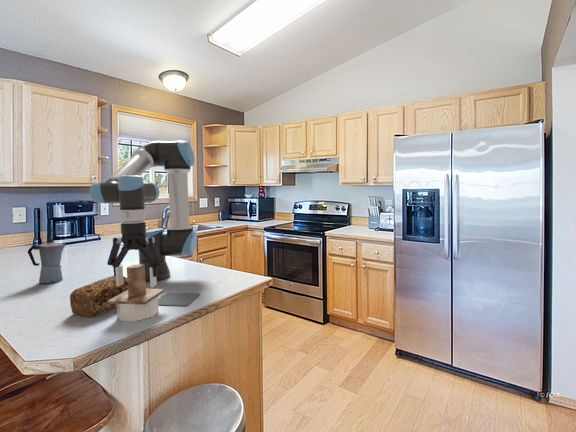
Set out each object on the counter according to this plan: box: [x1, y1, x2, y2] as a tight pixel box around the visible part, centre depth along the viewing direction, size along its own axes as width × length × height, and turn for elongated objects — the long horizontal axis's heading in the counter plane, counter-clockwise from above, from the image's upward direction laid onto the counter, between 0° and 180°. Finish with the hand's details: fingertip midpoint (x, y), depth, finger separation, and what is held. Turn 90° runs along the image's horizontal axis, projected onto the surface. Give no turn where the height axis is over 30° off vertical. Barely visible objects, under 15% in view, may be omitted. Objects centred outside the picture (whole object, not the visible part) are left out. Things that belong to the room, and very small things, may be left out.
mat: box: [158, 291, 201, 307], centre depth 123 cm, size 14×13×1 cm
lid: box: [107, 264, 166, 304], centre depth 108 cm, size 13×13×11 cm
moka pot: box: [27, 238, 67, 284], centre depth 148 cm, size 10×15×20 cm, turn 155°
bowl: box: [116, 295, 160, 322], centre depth 109 cm, size 12×12×6 cm
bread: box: [69, 275, 128, 318], centre depth 116 cm, size 19×11×10 cm, turn 158°
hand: (136, 285), depth 109 cm, fingers open, 11 cm apart
